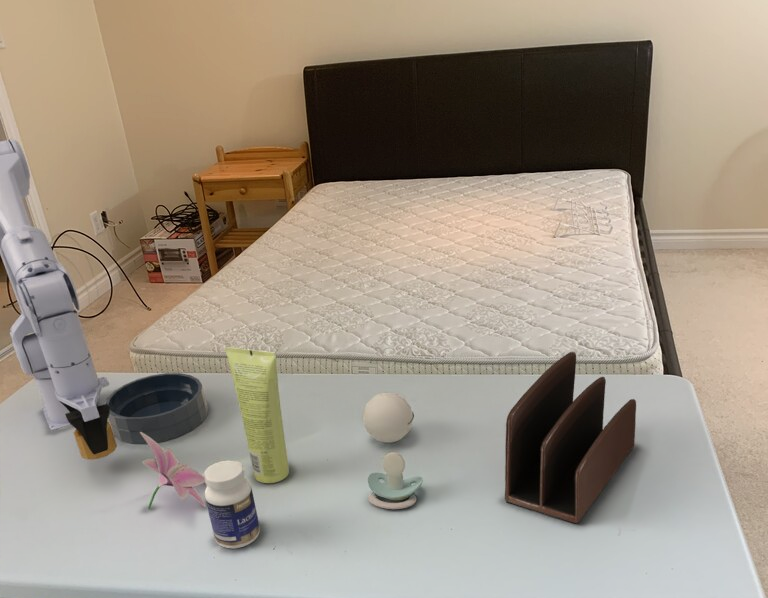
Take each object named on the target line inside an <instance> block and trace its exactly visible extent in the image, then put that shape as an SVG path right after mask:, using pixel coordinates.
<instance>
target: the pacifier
mask: <svg viewBox="0 0 768 598" xmlns="http://www.w3.org/2000/svg"><path fill="white" fill-rule="evenodd" d="M381 464H382V469H383V471H384V472H385V473H383V472H379V471H377V472H372V473H370V474H368V476H367V484H368V487H369V489H370V491H371V492H370V493H369V495H368V497H367V499H368V501H369V502H370V503H371V504H372V505H374V506H376V507H377V508H382V509H386V510H400V509H401V510H402V509H406V508H410V507H412V506H414V505H415V503H416V502H417V497H416V495H415V494H414V493H415V492H416V491H418V490H419V488H420V487H421V486H422V484H423V482H424V480H423V477H422V476H412V477H408V478H405V479H404V476H403V473H404V471H405V469H406V462H405V459H404V457H403V456H402V454H400V453H398V452H396V451H391V452H388V453H387V454H385V455H384V457H383V458H382V463H381ZM380 480H382V481H380ZM377 497H381V498H385V499H386V500H390V501H401V502H387V501H384V500H383V501H382V500H380V499H379V498H377ZM405 499H407V500H405ZM403 500H405V501H403Z"/></svg>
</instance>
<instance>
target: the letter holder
mask: <svg viewBox="0 0 768 598" xmlns="http://www.w3.org/2000/svg"><path fill="white" fill-rule="evenodd" d="M576 369H577V354H576V352H575V351H569V352H568V353H565V355H563V356H562V357H561V358H560V359H558V360H556V361H555V362H554V363H553V364H552V365H551V366H550V367H548V368H547V369H546V370H544V372H543V373H542V374H541V375H540V376H539V377H538V379H536V381H534V382H533V384H532V385H531V386H530V387H529V388H528V389H527V390H526V391H525V392H524V393H523V395H522V396H521V397H520V398H519V399H518V400H517V401H516V403H515V404H514V405H513V407H512V408H511V409H510V410H509V412H508V414H507V416H506V422H505V447H504V448H505V449H504V451H505V452H504V453H505V454H504V455H505V459H504V461H505V462H504V463H505V464H504V486H505V487H504V501H505V503H507V504H511V505H512V504H513V505H515V506H518V507H521V508H524V509H528V510H530V511H531V510H532V511H535V512H538V513H540V514H543V515H547V516H550V517H553V518H556V519H560V520H563V521H565V522H569V523H572V524H575V525H577V524H579V523H580V522H581V520H582V518H583V517H584V516H585V514H586V513H587V512H588V510H589V508H591V507H592V505H593V504H594V502H595V501H596V500H597V498H598V496H599V495H600V494H601V493H602V491H603V490H604V489H605V487H606V486H607V485H608V483H609V482H610V480H611V479H612V478H613V477H614V475H615V474H616V472H617V471H618V469H620V467H621V465H622V464H623V462H624V461H625V460H626V459H627V457H628V455H629V454H630V452H632V450H633V448H634V447H635V444H636V443H635V442H636V441H635V439H636V420H637V416H636V415H637V401H636V399H635V398H632V399H631V398H630V399H628V401H627V402H626V403H624V405H623V406H622V407H620V409H619V410H618V411H617V412H616V413H615V414H614V415H613V417H612V418H611V419H610V420H609V421H608V423H607V424H606V425H605V426H604V414H605V413H604V411H605V396H606V383H607V379H606V377H605V376H599V377H598V378H596V380H594V381H593V382H591V383H590V384H589V385H588V386H587V387H586V388H585V389H584V390H583V391H581V393H580V394H578V396H576V398H574V393H575V382H576Z"/></svg>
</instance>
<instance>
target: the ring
mask: <svg viewBox="0 0 768 598" xmlns="http://www.w3.org/2000/svg"><path fill="white" fill-rule="evenodd" d="M73 435H74V439H75V442H76V444H77V447H78V450H79V453H80V456H81V458H82V459H86V460H88V461H89V460H99V459H102V458H105V457H108V456H109V455H110V454H112V453H113V452H115V450H116V449H117V447H118V445H117V444H118V443H117V441H116V439H115V438H116V437H115V436H114V434H113V431H112V428H111V425H110V422H109V420H108V421H107V438H108V450H106V451H103V452H100V453H97V454H93V453H92V452H91V450H90V449H89V447H88V446H87V444H86V442H85V440H84V438H83V437H82V435H81V434H80V433H79V431H78V430H77V429H76V428H75V430H74V431H73Z"/></svg>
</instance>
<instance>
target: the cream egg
mask: <svg viewBox="0 0 768 598" xmlns="http://www.w3.org/2000/svg"><path fill="white" fill-rule="evenodd" d="M362 418H363V419H362V422H363V426H364V428H365V430H366V432H367V433H368V434H369V435H370V437H371V438H373V439H375V440H376V441H378V442H381V443H386V444H387V443H388V444H389V443H395V442H398V441H400V440H402V438H404V437H405V436H407V435H408V433H409V431H410V430H411V428H412V426H413V420H414V418H415V415H414V412H413V410H412V407H411V405H410V404H409V403H408V401H407V400H406V398H404V397H402V396H401V395H399V394H398V393H394V392H383V393H379V394H376V395H374V396H373V397H372V398H371V399H369V401H368V402H367V404H366V405H365V407H364V410H363V417H362Z"/></svg>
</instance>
